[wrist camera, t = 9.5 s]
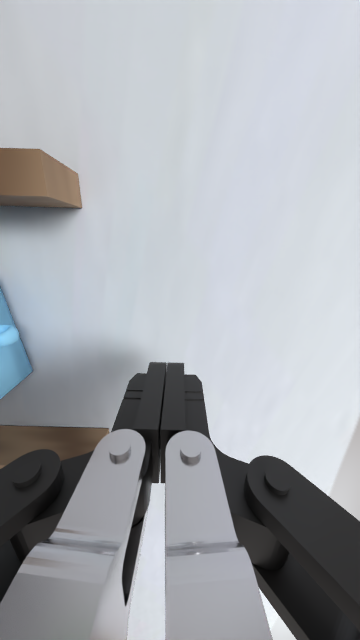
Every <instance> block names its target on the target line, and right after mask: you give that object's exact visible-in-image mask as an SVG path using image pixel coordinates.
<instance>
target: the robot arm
mask: <svg viewBox="0 0 360 640" xmlns="http://www.w3.org/2000/svg"><path fill="white" fill-rule="evenodd" d="M160 463H161V483H165V640H273V639H272V635H271V632H270V628H269V624H268V621H267V617H266V613H265V610H264V606H263V602H262V599H261V595H260V591H259V588H260V590H261V591H262V593H263V594H264V595H265V597H266V598H267V599H268V601H269V602H270V604H271V605H272V606H273V608H274V609H275V610H276V612H277V613H278V615H279V616H280V617H281V619H282V620H283V621H284V623H285V624H286V625H287V627H288V628H289V630H290V631H291V632H292V634H293V635H294V637H295V638H296V639H297V640H360V521H358V520H357V519H356V518H355V517H354V516H352V515H351V514H350V513H348V512H347V511H346V510H345V509H344V508H342V507H341V506H340V505H339V504H337V503H336V502H335V501H334V500H332V499H331V498H330V497H329V496H327V495H326V494H325V493H324V492H322V491H321V490H320V489H319V488H318V487H316V486H315V485H314V484H313V483H311V482H310V481H309V480H308V479H306V478H305V477H304V476H303V475H301V474H300V473H299V472H298V471H296V470H295V469H294V468H293V467H291V466H290V465H289V464H287V463H286V462H284V461H283V460H281V459H278V458H276V457H272V456H259V457H256V458H255V459H253V460H252V461H251V462H250V464H248V463H245V462H242V461H239V460H236V459H234V458H231V457H229V456H227V455H225V454H223V453H222V452H221V451H219V450H218V449H217V448H216V446H215V445H214V444H213V442H212V441H211V438H210V435H209V430H208V423H207V416H206V409H205V402H204V395H203V389H202V382H201V381H200V380H199V379H198V377H197V376H196V375H184V363H168V364H167V363H162V362H150V364H149V368H148V372H147V374H142V373H137V374H136V375H135V376H134V377H133V378H132V379H131V380H130V381H129V384H128V387H127V389H126V392H125V395H124V399H123V401H122V403H121V406H120V409H119V412H118V414H117V417H116V420H115V423H114V425H113V428H112V431H111V433H109V434H108V435H106V436H105V437H104V438H103V439H102V440H101V441H100V442H99V443H98V445H97V446H96V448H95V449H94V450H93V451H91V452H88V453H86V454H83V455H80V456H76V457H72V458H69V459H65V460H61V461H60V458H59V456H58V454H57V453H56V452H54V451H52V450H49V449H39V450H34V451H31V452H29V453H26V454H24V455H22V456H21V457H19V458H17V459H16V460H14V461H12V462H11V463H9V464H8V465H6V466H4V467H3V468H1V469H0V640H127V634H128V622H129V614H130V607H131V601H132V595H133V590H134V584H135V579H136V573H137V568H138V562H139V557H140V552H141V546H142V541H143V535H144V530H145V524H146V519H147V513H148V506H149V501H150V492H151V484H152V483H159V474H160Z"/></svg>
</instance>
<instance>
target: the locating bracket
mask: <svg viewBox="0 0 360 640" xmlns="http://www.w3.org/2000/svg"><path fill="white" fill-rule="evenodd" d="M0 206H29V207H68V208H82V204H81V195H80V187H79V179H78V174H77V173H76V172H74V171H73V170H71V169H70V168H68V167H67V166H65V165H64V164H62V163H60V162H59V161H57V160H56V159H54V158H53V157H51V156H50V155H48V154H47V153H45V152H43V151H42V150H40V149H18V148H0ZM108 434H109V428H73V427H36V426H0V469H1V468H3V467H4V466H6V465H8V464H9V463H11V462H12V461H14V460H16V459H17V458H19V457H21V456H22V455H24V454H26V453H29V452H31V451H34V450H39V449H49V450H52V451H54V452H56V453H57V454H58V456H59V458H60V461H61V460H65V459H69V458H72V457H76V456H80V455H83V454H86V453H88V452H91V451H93V450H94V449H95V448H96V446H97V445H98V443H99V442H100V441H101V440H102V439H103V438H104V437H105V436H106V435H108Z"/></svg>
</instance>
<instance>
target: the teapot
mask: <svg viewBox="0 0 360 640" xmlns="http://www.w3.org/2000/svg"><path fill="white" fill-rule="evenodd" d="M32 371H33V370H32V367H31V364H30V362H29V359H28V357H27V354H26V352H25V349H24V346H23V344H22V341H21V339H20V336H19V331H18V330H17V328H16V326H15V323H14V321H13V318H12V316H11V313H10V310H9V308H8V305H7V303H6V300H5V297H4V295H3V292H2V290H1V287H0V399H1V398H2V397H4V396H5V395H6V394H7V393H8V392H9V391H10V390H12V389H13V388H14V387H15V386H16V385H17V384H19V383H20V382H21V381H22V380H23V379H24V378H26V377H27V376H28V375H29V374H30V373H31V372H32Z"/></svg>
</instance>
